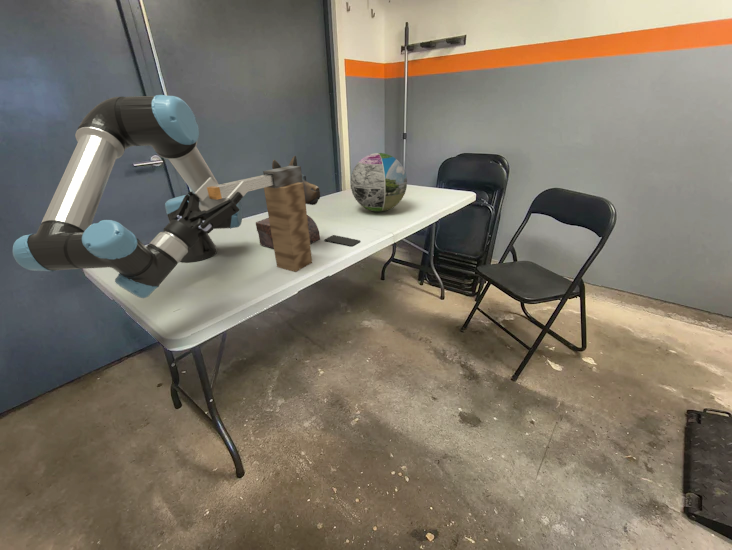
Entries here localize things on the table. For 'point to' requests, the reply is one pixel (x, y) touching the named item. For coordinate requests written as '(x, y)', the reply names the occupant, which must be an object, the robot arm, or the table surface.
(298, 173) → the pedestal
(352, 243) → the smartphone
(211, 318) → the table surface
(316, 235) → the dog bust
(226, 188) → the orange-tipped white stick
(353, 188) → the photo panel ball
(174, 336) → the table surface
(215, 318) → the table surface
